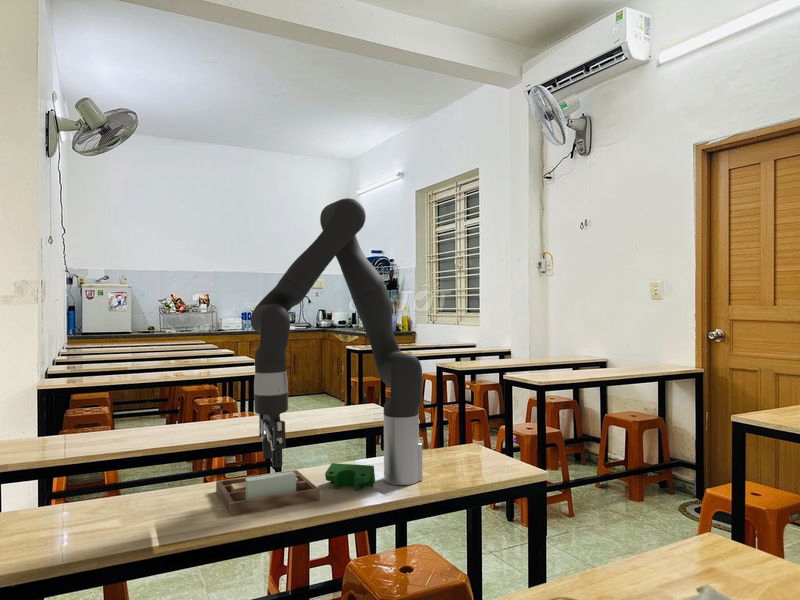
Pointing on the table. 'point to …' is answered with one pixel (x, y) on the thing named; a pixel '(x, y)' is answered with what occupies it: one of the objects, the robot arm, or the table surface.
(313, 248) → the robot arm
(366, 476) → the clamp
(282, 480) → the sheet
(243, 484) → the offcut
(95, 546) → the table surface
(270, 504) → the brown wooden compartment tray
